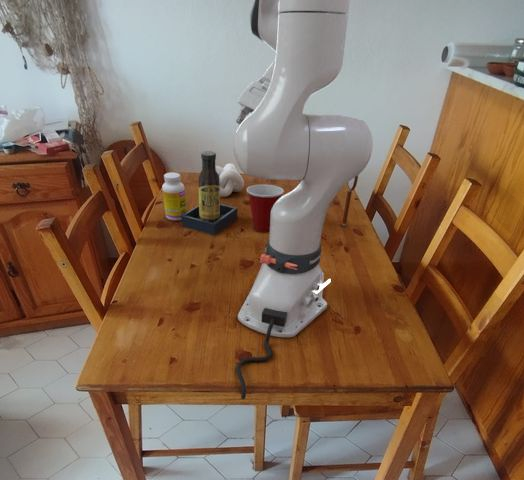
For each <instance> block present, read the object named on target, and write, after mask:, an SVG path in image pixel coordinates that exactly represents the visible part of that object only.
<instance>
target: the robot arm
mask: <svg viewBox="0 0 524 480" xmlns="http://www.w3.org/2000/svg"><path fill="white" fill-rule="evenodd" d="M349 9H350V0H254V1H253V4H252V6H251V9H250V14H249V26H250V30H251V34H252V35H253V36H255V37H256V38H257V39H259V40H260V41H261V42H263V43H265V44H266V45H267V46H268V47H269V48H271V50H273V51H274V52H275V57H274V58H275V59H274V60H273V62H272V63H271V64H270V65H269V67H268V68H267V69H266V70H265V72H264V74H263V75H262V76H261V78H259V79H258V80H253V81H252V82H251V83H249V84H248V86H247V87H246V88H245V89H244V91H243V92H241V94H240V96H239V97H238V100H237V103H238V104H239V106H240V110H239V114H238V116H237V118H236V119H235V123H237V125H239V126H238V128H237V130H236V131H235V135H234V138H233V154H234V157H235V158H234V159H235V161H236V164H237V166H238V167H239V169H240V171H242V173H243V174H244V175H245V176H249V177H253V178H257V179H262V180H268V181H300V182H299V184H297V186H296V187H295V188H294V189H293V190H291V191H288V192H287V193H285V194H282V196H281V197H280V198H279V199H278V200H277V201H276V202H275V204H274V205H273V207H272V209H271V216H270V231H269V238H268V240H267V243H266V246H265V250H264V252H265V253H262V254H261V255H260V258H259V263H261V266H260V269H259V271H258V273H257V275H256V277H255V279H254V282H253V285H252V287H251V290H250V291H249V293H248V295H247V296H246V299H245V300H244V302H243V304H242V306H241V308H240V309H239V311H238V314H237V320H238V321H239V322H240V323H241V324H242V325H244V326H245V327H247V328H249V329H251V330H253V331H256V332H259V333H262V334H264V335H265V337H264V338H265V339H264V347H265V350H266V352H267V355H265V356H249V357H244V358H242V359H241V360H240V361H239V362H237V365H236V369H235V370H236V371H235V372H236V375H237V377H238V380H239V383H240V387H241V389H240V391H241V393H240V399H241V400H245V399H246V395H247V387H246V381H245V379H244V376H243V373H242V370H241V368H242V366H243V365H244V364H245V363H248V362H265V361H267V360H269V359H271V357H272V356H273V351H272V349H271V348H270V347H271V346H270V338H271V337H278V338H285V339H286V338H293V337H295V336H296V335H298V334H299V333H300V332H301V331H302V330H303V329H305V328H306V327H307V326H308V325H310V323H312V322H313V321H314V320H315V319H317V317H318V316H320V315H321V314H322V313H323V312H324V311H325V310H326V309H327V308H328V302H327V301H326V300H325V298H323V293H324V288H325V287H326V286H328V285H329V284H330V283H331V278H329V279H327V280H326V281H324V280H325V273H324V271H323V270H322V268H321V265H320V262H321V256H322V243H321V241H322V235H323V234H322V233H323V228H324V224H325V219H326V215H327V213H328V210H329V207H330V205H331V204H332V202H333V200H334V198H335V197H336V196H337V195H338V193H339V192H340V191H341V189H343V188H344V186H346V184H347V183H348V182H349V181H350V180H351V179H353V178H354V177H356V176H357V175H358V176H360V174H361V173H362V172H363V171H364V170H365V169H366V167H367V166H368V164H369V162H370V159H371V157H372V153H373V147H374V146H373V144H374V143H373V136H372V132H371V130H370V127H369V126H368V124H367V123H366V121H364V120H363V119H359V118H355V117H352V116H348V115H343V114H316V113H315V114H313V113H311V114H310V113H309V114H308V113H307V114H306V113H304V109H305V106H306V105H307V104H306V103H307V102H308V100H309V99H310V98H311V97H312V96H313V95H315V94H317V93H319V92H321V91H322V90H324V89H326V88H327V87H329V86H330V85H331V84H333V83H334V82H335V81H336V79H337V78H338V77H339V75H340V73H341V71H342V69H343V65H344V64H343V63H344V57H345V47H346V36H347V27H348V19H349Z"/></svg>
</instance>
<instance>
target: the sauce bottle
mask: <svg viewBox="0 0 524 480" xmlns="http://www.w3.org/2000/svg"><path fill="white" fill-rule="evenodd" d="M200 154H201V156H200V158H201V165H202V166H201V171H200V173H199V175H198V205H199V216H200V220H204V221H208V222H212V223H214V222H216V221H217V220H218V219H219V217H220V204H221V197H220V183H219V175H218V173H217V172H216V167H215V166H216V159H217V154H216V152H215V151H211V150H204V151H201V153H200Z"/></svg>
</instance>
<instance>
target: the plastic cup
mask: <svg viewBox="0 0 524 480" xmlns="http://www.w3.org/2000/svg"><path fill="white" fill-rule="evenodd" d="M284 192H285V189H284V188H282V187H280V186H277V185H273V184H253V185H250V186H248V187H247V188H246V193H247V195H248V199H249V204H250V210H251V218H252V220H253V221H252V223H253V227H254V230H255V231H257V232H259V233H270V216H271V209H272V207H273V205H274V204H275V202H276V201H277V200H278V199H279V198H280V197H282V196H283V195H284Z"/></svg>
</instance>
